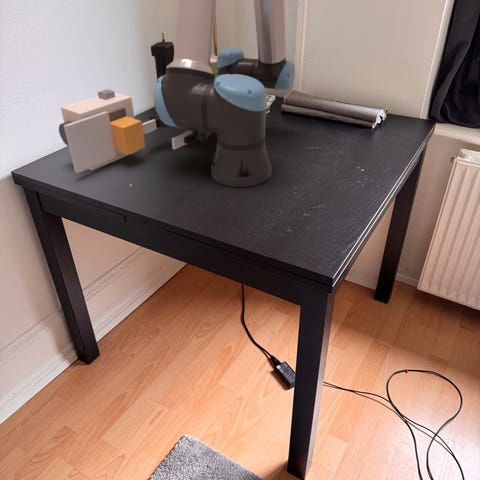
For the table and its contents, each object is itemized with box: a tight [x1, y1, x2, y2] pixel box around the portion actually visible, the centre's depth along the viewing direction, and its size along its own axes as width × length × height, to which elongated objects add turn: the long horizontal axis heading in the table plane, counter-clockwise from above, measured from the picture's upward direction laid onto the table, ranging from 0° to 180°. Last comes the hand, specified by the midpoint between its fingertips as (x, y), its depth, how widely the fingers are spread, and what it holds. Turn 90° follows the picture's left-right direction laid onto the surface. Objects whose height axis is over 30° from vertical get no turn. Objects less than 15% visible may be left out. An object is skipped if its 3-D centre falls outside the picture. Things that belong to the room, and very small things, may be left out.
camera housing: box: [58, 89, 140, 171], centre depth 119 cm, size 9×18×16 cm, turn 142°
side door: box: [64, 111, 146, 174], centre depth 113 cm, size 6×18×12 cm, turn 142°
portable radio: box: [150, 32, 175, 81], centre depth 142 cm, size 8×6×25 cm
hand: (154, 137), depth 116 cm, fingers open, 13 cm apart
